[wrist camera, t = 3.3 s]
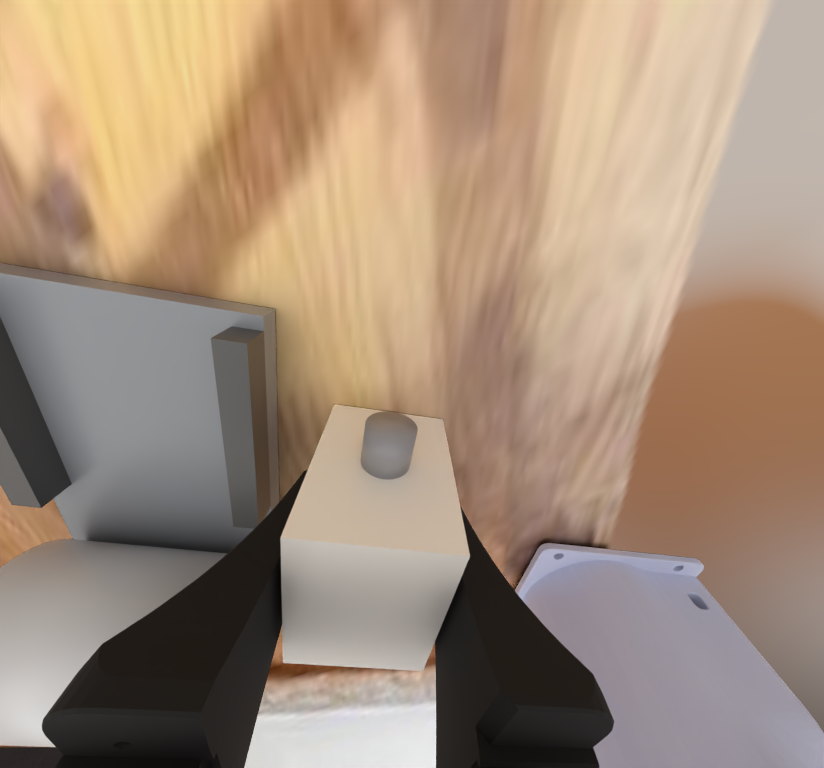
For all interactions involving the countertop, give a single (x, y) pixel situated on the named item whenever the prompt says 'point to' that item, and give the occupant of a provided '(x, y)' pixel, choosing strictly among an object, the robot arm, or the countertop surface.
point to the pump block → (372, 544)
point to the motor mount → (121, 462)
